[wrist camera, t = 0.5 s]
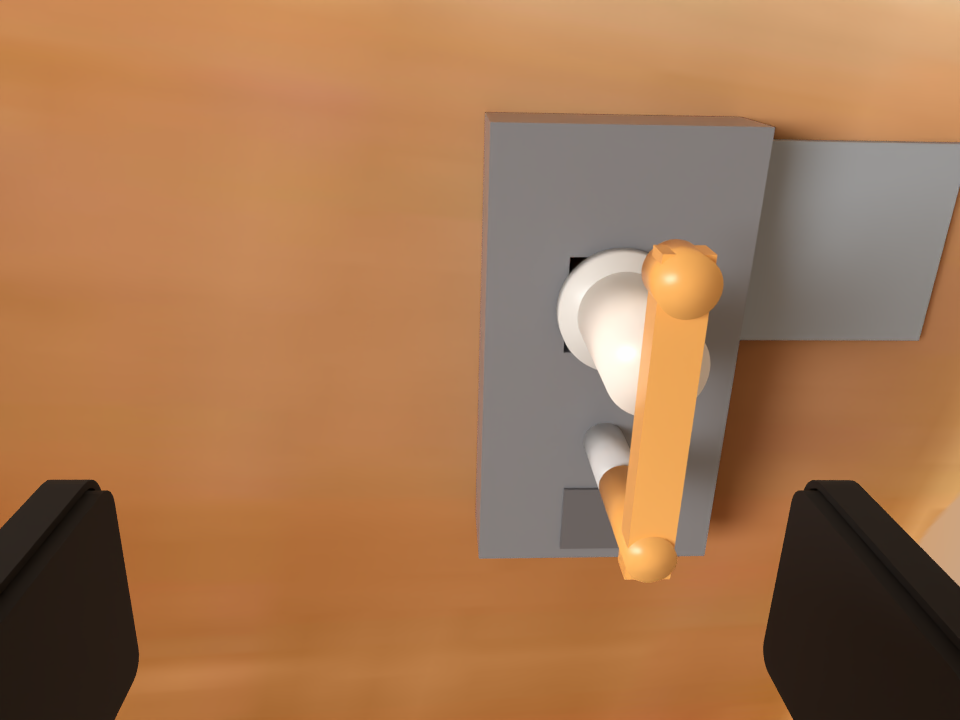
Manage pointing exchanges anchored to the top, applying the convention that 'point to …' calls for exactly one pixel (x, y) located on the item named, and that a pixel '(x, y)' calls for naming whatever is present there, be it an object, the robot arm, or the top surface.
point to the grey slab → (533, 300)
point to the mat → (850, 239)
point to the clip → (662, 408)
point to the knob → (609, 319)
